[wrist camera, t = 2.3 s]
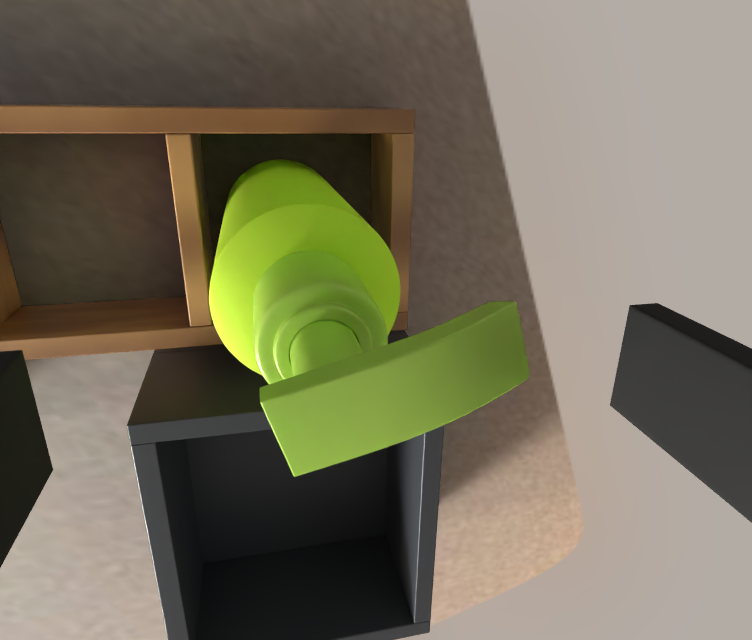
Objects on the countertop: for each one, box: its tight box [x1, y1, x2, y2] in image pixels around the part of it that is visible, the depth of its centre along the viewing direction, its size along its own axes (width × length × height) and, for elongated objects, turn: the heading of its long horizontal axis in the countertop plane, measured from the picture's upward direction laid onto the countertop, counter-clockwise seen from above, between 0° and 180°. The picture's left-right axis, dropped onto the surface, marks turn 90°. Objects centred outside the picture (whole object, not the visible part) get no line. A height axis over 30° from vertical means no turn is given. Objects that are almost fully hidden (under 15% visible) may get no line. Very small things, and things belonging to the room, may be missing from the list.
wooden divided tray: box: [0, 104, 415, 360], centre depth 25 cm, size 10×20×4 cm, turn 89°
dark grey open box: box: [127, 330, 444, 640], centre depth 30 cm, size 16×14×8 cm
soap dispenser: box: [209, 159, 530, 477], centre depth 19 cm, size 6×7×20 cm
